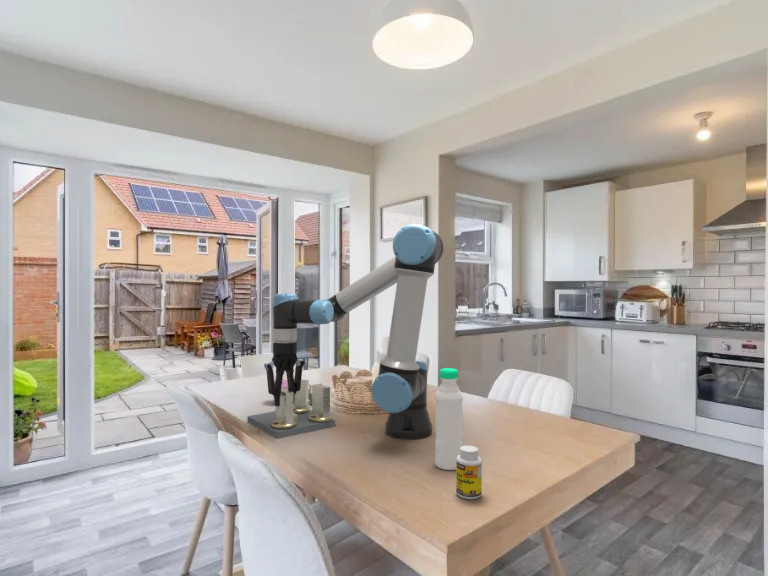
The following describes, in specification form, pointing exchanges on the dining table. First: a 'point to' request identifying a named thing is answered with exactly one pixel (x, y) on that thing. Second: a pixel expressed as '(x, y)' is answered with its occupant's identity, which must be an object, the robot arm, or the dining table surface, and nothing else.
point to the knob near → (285, 412)
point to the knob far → (301, 398)
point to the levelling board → (303, 426)
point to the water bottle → (448, 420)
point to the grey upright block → (320, 404)
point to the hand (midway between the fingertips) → (284, 414)
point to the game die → (310, 394)
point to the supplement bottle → (468, 473)
